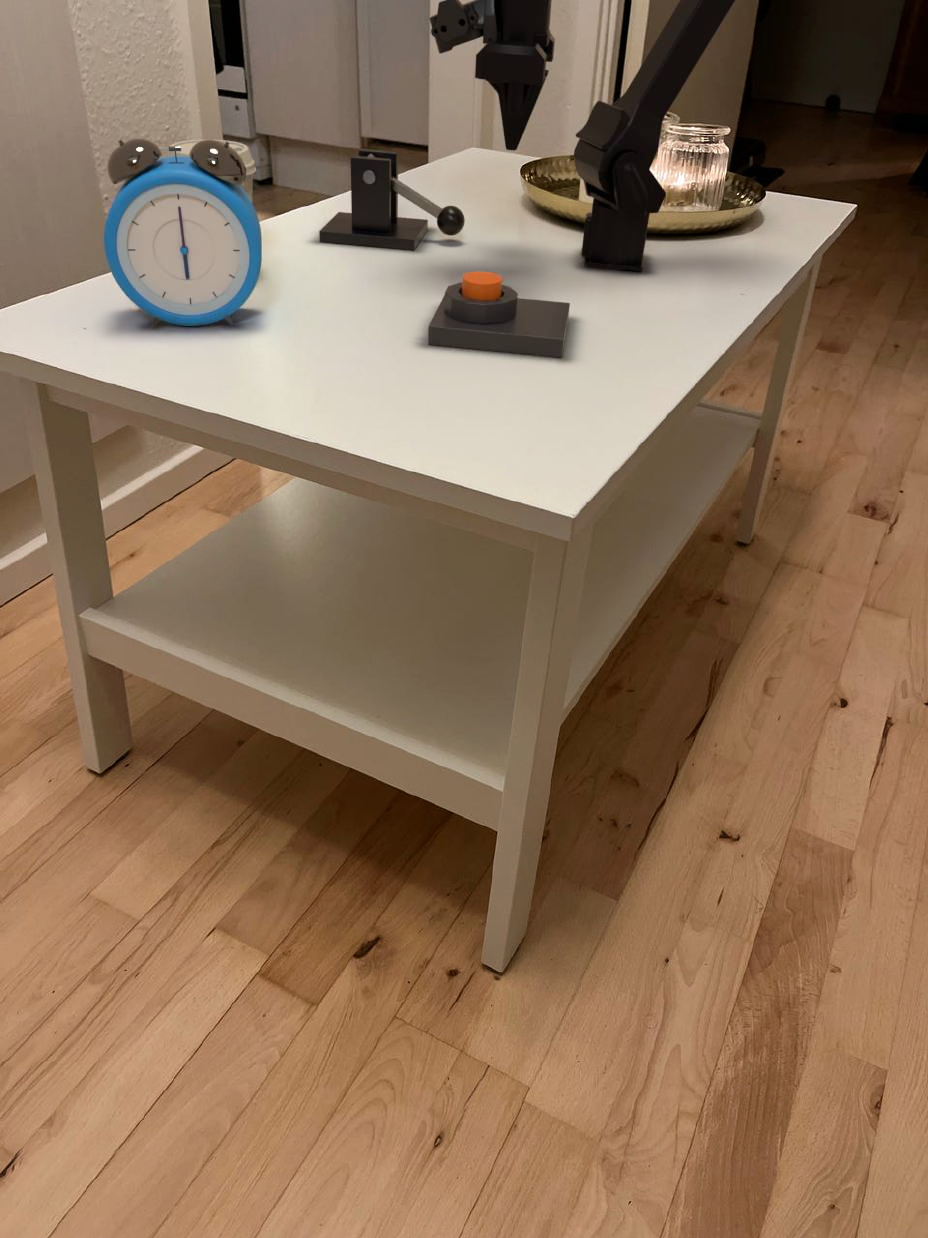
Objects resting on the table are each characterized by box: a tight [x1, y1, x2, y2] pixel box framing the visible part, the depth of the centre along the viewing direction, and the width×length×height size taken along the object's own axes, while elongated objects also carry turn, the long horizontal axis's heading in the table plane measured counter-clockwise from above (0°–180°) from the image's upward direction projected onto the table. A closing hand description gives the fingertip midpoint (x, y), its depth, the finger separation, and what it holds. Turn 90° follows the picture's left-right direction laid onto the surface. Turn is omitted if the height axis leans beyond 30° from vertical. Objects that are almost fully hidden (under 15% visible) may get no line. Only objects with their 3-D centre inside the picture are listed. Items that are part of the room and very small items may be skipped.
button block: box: [427, 281, 571, 358], centre depth 91 cm, size 12×10×4 cm
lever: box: [367, 154, 466, 237], centre depth 113 cm, size 13×3×3 cm, turn 82°
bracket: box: [318, 148, 429, 251], centre depth 113 cm, size 11×9×9 cm
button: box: [461, 271, 503, 300], centre depth 89 cm, size 4×4×2 cm
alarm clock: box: [103, 137, 263, 327], centre depth 86 cm, size 13×6×15 cm, turn 100°
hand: (511, 149), depth 101 cm, fingers closed
